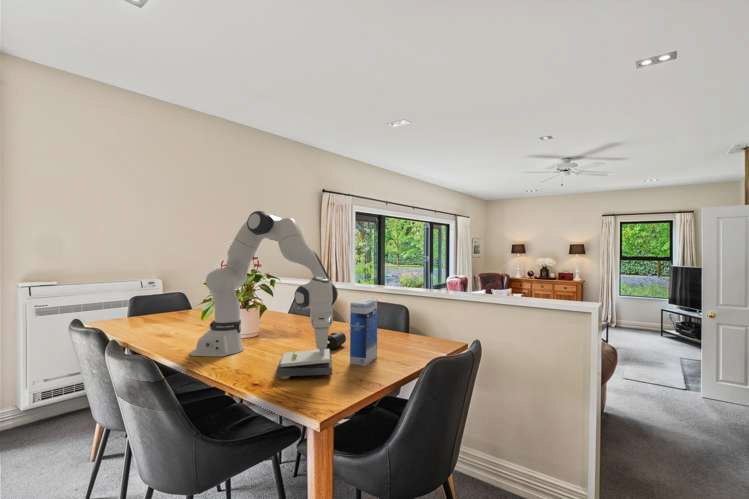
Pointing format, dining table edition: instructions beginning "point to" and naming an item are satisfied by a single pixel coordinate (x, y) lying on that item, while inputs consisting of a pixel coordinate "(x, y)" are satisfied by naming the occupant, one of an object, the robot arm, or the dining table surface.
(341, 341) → the end cap
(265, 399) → the dining table surface
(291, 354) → the level plate
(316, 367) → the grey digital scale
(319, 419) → the dining table surface
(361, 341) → the string lights box
